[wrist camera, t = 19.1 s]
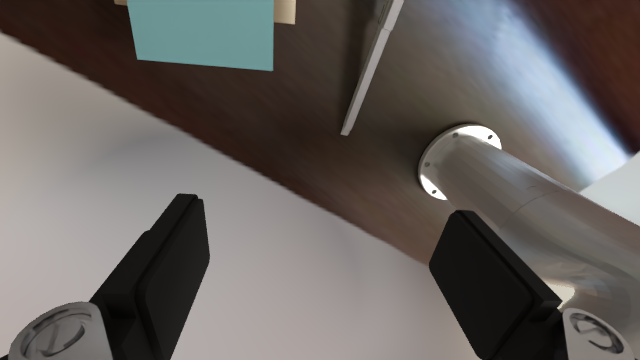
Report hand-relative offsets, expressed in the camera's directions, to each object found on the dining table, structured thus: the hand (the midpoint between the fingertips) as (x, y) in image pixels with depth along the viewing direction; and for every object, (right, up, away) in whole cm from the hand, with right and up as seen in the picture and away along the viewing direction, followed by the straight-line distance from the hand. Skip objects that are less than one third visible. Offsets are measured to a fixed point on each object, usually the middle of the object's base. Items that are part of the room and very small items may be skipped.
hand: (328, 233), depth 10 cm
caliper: (+6, +17, +22) cm, 28 cm away
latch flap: (-10, +19, +13) cm, 25 cm away
